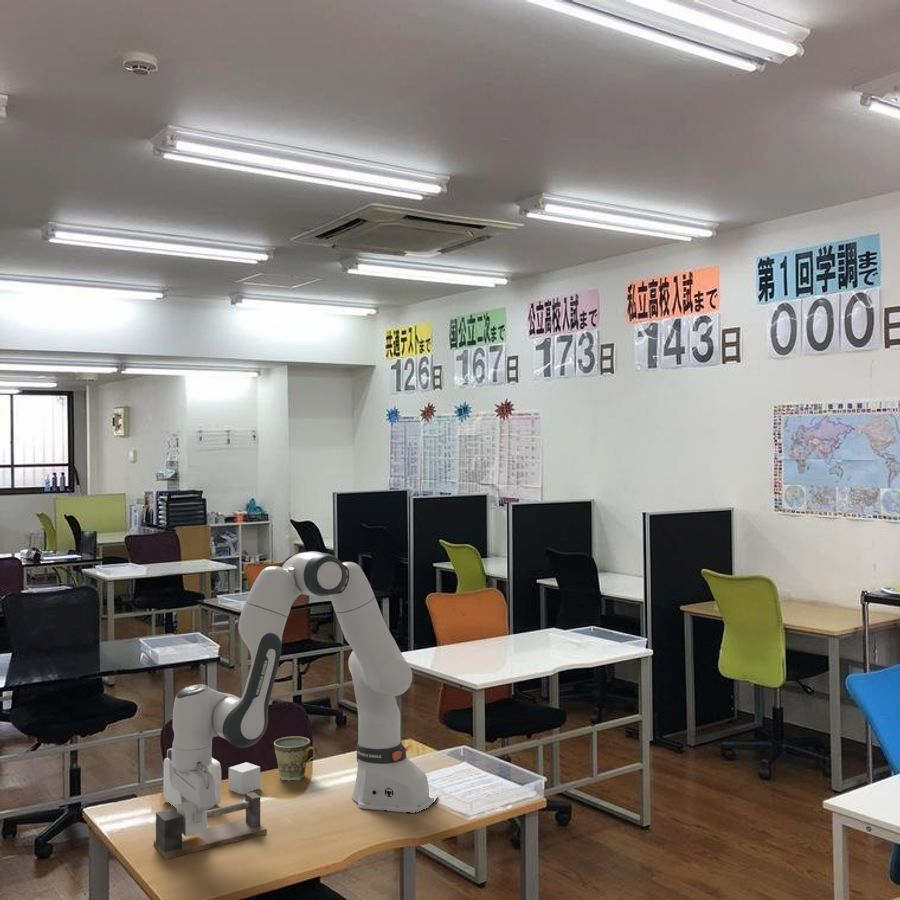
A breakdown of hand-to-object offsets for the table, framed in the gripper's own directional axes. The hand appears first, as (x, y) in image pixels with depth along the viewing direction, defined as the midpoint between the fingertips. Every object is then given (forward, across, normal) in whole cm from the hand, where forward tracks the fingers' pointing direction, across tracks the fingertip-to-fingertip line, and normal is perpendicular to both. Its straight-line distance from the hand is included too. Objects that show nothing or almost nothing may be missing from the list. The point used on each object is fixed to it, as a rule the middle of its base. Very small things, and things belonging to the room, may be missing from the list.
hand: (191, 817), depth 212 cm
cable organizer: (+6, +24, -9) cm, 27 cm away
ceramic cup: (+6, +26, -39) cm, 48 cm away
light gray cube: (+6, +26, -24) cm, 36 cm away
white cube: (+3, 0, 0) cm, 3 cm away
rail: (+6, 0, -5) cm, 8 cm away
